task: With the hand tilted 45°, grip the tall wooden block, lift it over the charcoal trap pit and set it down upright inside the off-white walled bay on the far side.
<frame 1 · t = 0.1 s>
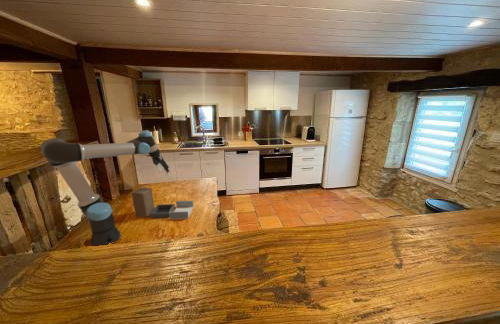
hand: (165, 173, 161), 28 cm above the counter, tool tilted 20°, fingers open, 13 cm apart
walled bay: (182, 212, 156), on the counter
wooden block: (145, 214, 155), on the counter
trap pit: (163, 213, 156), on the counter
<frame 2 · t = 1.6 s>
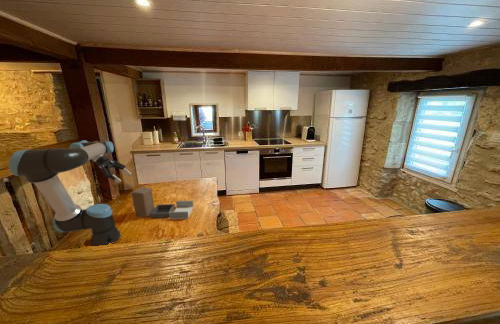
hand: (125, 178, 146), 30 cm above the counter, tool tilted 45°, fingers open, 13 cm apart
nothing on the counter moved.
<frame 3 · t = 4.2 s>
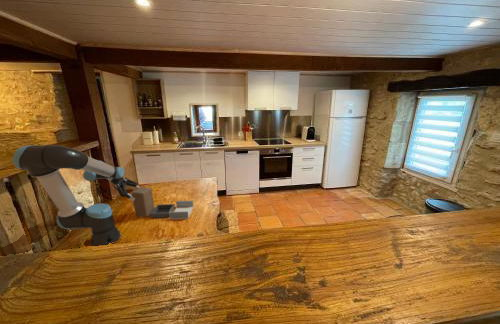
hand: (138, 195, 152), 14 cm above the counter, tool tilted 45°, fingers open, 13 cm apart
wooden block: (145, 214, 155), on the counter, touching gripper
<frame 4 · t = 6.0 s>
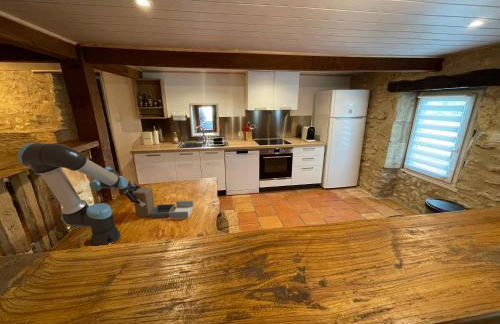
hand: (147, 201, 152), 10 cm above the counter, tool tilted 45°, fingers closed on wooden block, 11 cm apart
wooden block: (146, 214, 155), on the counter, touching gripper
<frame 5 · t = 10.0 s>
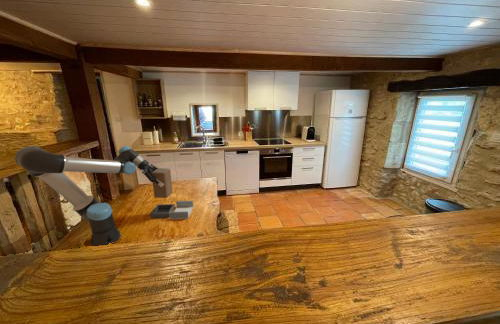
hand: (165, 182, 149), 25 cm above the counter, tool tilted 45°, fingers closed on wooden block, 11 cm apart
wooden block: (163, 195, 152), point 15 cm above the counter, touching gripper
when the fingers open (12 cm above the counter, at t = 14.0 s): wooden block drops 1 cm, resting on walled bay.
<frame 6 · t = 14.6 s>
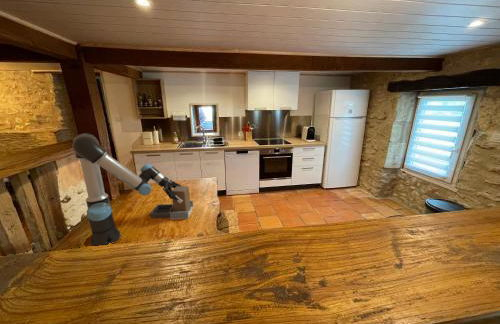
hand: (184, 197, 153), 13 cm above the counter, tool tilted 45°, fingers open, 13 cm apart
wooden block: (182, 212, 156), resting on walled bay
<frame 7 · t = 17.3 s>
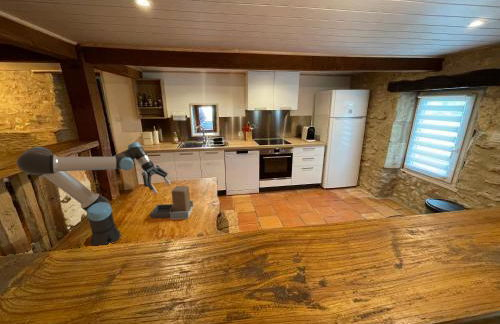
hand: (163, 188, 141), 24 cm above the counter, tool tilted 30°, fingers open, 13 cm apart
nothing on the counter moved.
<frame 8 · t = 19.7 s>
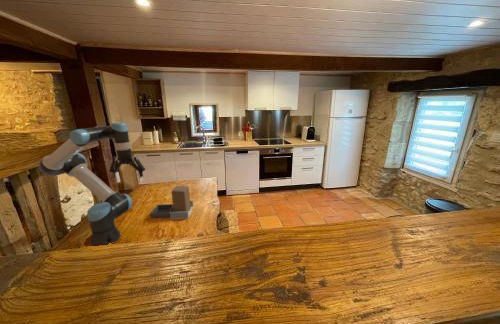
hand: (129, 182, 126), 35 cm above the counter, tool pointing down, fingers open, 13 cm apart
nothing on the counter moved.
at the end: wooden block inside the target area on the walled bay (0.2 cm from its centre), point 0.4 cm above the walled bay's base; wooden block tilted 0°; the gripper is holding nothing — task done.
